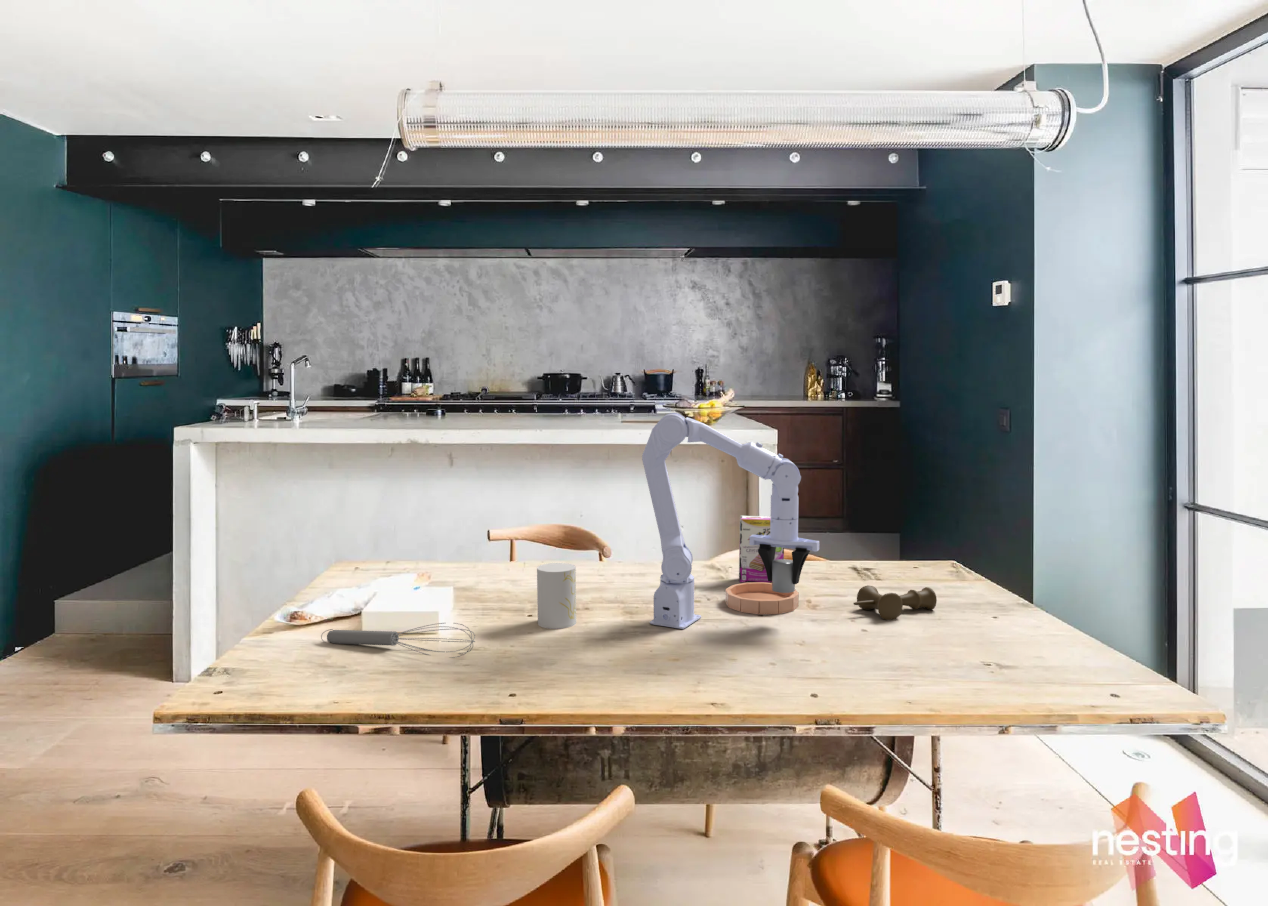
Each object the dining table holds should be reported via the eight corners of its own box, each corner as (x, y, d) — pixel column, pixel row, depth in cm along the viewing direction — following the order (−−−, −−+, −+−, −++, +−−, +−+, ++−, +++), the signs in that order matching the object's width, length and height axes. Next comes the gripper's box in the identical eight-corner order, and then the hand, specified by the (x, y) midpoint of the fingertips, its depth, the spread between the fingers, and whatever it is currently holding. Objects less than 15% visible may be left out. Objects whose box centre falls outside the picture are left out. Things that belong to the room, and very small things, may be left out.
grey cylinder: (790, 593, 171) (791, 565, 170) (768, 591, 173) (768, 562, 173) (797, 588, 175) (798, 560, 175) (775, 585, 177) (776, 558, 177)
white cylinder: (570, 629, 171) (569, 572, 170) (532, 627, 172) (531, 570, 171) (580, 618, 179) (580, 563, 178) (544, 616, 180) (543, 562, 179)
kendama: (945, 616, 181) (865, 623, 175) (917, 606, 190) (840, 611, 184) (946, 589, 180) (866, 595, 174) (918, 580, 190) (841, 585, 183)
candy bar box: (739, 583, 208) (739, 518, 206) (738, 578, 213) (739, 515, 211) (784, 584, 207) (785, 519, 205) (782, 579, 212) (783, 515, 210)
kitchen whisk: (331, 637, 167) (330, 606, 167) (481, 654, 157) (481, 621, 157) (310, 646, 161) (309, 615, 161) (466, 665, 152) (465, 631, 151)
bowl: (785, 618, 178) (785, 604, 178) (715, 608, 186) (715, 595, 185) (805, 599, 192) (806, 587, 192) (740, 591, 200) (740, 579, 199)
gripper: (823, 517, 173) (822, 581, 174) (757, 512, 180) (756, 573, 181) (814, 522, 167) (813, 589, 168) (746, 517, 173) (745, 580, 175)
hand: (783, 581), depth 174 cm, fingers closed on grey cylinder, 5 cm apart
